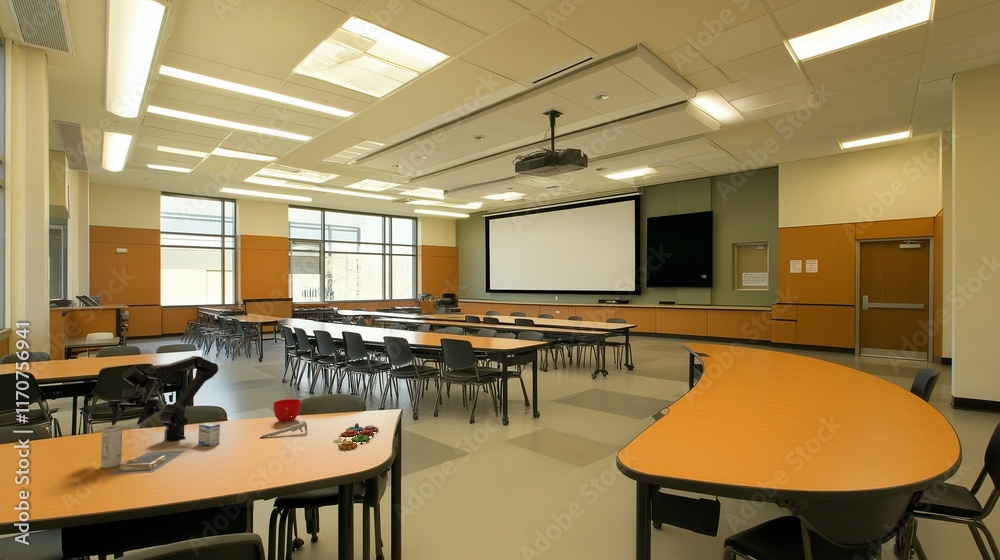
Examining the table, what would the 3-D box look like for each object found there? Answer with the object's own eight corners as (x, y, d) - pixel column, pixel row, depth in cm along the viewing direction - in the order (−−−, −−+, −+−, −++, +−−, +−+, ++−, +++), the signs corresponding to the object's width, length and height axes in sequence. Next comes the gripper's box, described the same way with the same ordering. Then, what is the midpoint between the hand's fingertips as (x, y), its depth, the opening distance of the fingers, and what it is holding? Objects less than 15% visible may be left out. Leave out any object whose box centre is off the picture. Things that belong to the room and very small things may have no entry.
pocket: (134, 461, 181) (135, 456, 181) (165, 460, 183) (165, 455, 183) (119, 470, 172) (119, 465, 172) (152, 469, 174) (152, 463, 174)
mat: (147, 452, 192) (147, 452, 192) (186, 451, 195) (186, 450, 195) (107, 475, 169) (107, 474, 169) (152, 473, 171) (152, 472, 171)
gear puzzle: (361, 452, 196) (361, 442, 196) (323, 452, 196) (323, 442, 196) (380, 430, 227) (380, 422, 227) (347, 430, 227) (347, 421, 227)
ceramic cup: (272, 427, 228) (272, 407, 229) (273, 419, 244) (274, 400, 244) (300, 425, 234) (300, 405, 234) (300, 416, 249) (300, 398, 249)
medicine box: (198, 444, 203) (198, 424, 204) (207, 441, 208) (208, 422, 208) (210, 446, 201) (210, 426, 201) (219, 443, 205) (220, 423, 205)
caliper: (307, 432, 221) (307, 419, 222) (307, 433, 220) (307, 420, 221) (259, 438, 213) (259, 424, 213) (259, 439, 212) (259, 425, 212)
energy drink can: (122, 466, 177) (123, 427, 177) (101, 471, 173) (103, 430, 173) (119, 462, 181) (120, 424, 182) (99, 466, 177) (100, 427, 177)
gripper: (110, 380, 190) (89, 414, 179) (160, 379, 193) (142, 413, 181) (122, 396, 197) (103, 429, 186) (169, 395, 200) (153, 427, 189)
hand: (125, 424), depth 185 cm, fingers open, 9 cm apart
